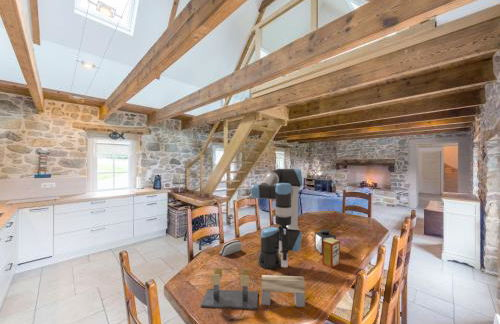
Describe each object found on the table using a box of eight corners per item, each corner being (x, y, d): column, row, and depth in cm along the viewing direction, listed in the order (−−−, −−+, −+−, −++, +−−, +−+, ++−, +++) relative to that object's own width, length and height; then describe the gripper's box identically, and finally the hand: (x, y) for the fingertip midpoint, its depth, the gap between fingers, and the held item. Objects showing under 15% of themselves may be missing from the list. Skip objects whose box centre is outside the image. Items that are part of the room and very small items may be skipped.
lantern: (322, 255, 152) (322, 216, 153) (314, 249, 163) (314, 213, 164) (335, 254, 154) (336, 216, 155) (327, 248, 165) (327, 212, 166)
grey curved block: (237, 248, 164) (239, 237, 161) (240, 252, 160) (243, 241, 158) (219, 254, 153) (221, 242, 150) (222, 258, 149) (225, 246, 147)
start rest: (261, 297, 102) (261, 285, 102) (302, 299, 101) (302, 287, 101) (261, 304, 97) (261, 291, 97) (304, 306, 96) (304, 293, 96)
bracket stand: (207, 291, 108) (207, 264, 108) (257, 293, 106) (258, 266, 106) (200, 306, 96) (201, 277, 96) (257, 309, 94) (257, 279, 94)
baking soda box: (331, 268, 133) (331, 243, 133) (322, 264, 138) (322, 240, 138) (339, 264, 138) (339, 240, 138) (330, 260, 143) (331, 237, 144)
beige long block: (261, 286, 102) (261, 274, 102) (303, 288, 101) (303, 276, 101) (261, 291, 98) (261, 279, 98) (304, 293, 97) (304, 281, 97)
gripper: (273, 209, 113) (273, 249, 112) (277, 222, 88) (276, 272, 87) (287, 210, 112) (287, 249, 112) (295, 222, 87) (295, 273, 87)
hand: (283, 260), depth 99 cm, fingers open, 13 cm apart
